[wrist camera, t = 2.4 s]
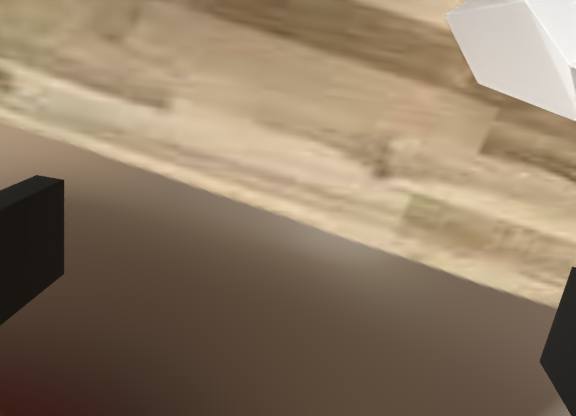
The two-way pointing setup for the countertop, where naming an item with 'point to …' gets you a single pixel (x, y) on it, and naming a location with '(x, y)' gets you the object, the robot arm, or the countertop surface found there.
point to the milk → (521, 49)
